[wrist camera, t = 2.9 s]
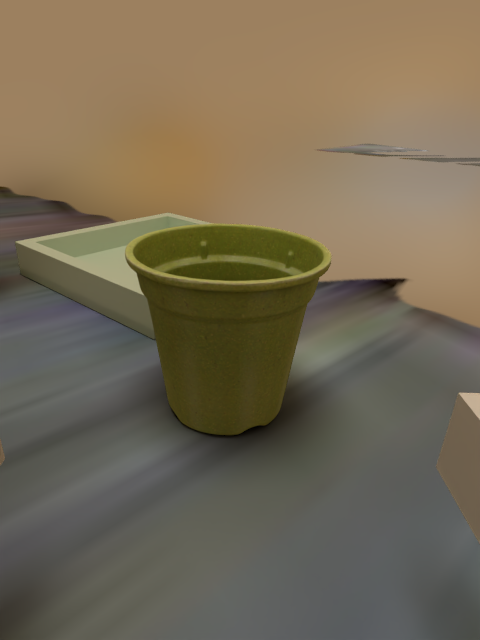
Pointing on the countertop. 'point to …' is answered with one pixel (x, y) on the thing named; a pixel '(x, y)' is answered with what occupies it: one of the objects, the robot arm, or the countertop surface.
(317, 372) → the countertop surface
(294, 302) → the plant pot
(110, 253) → the tray
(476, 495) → the robot arm
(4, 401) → the countertop surface
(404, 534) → the countertop surface
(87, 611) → the countertop surface
